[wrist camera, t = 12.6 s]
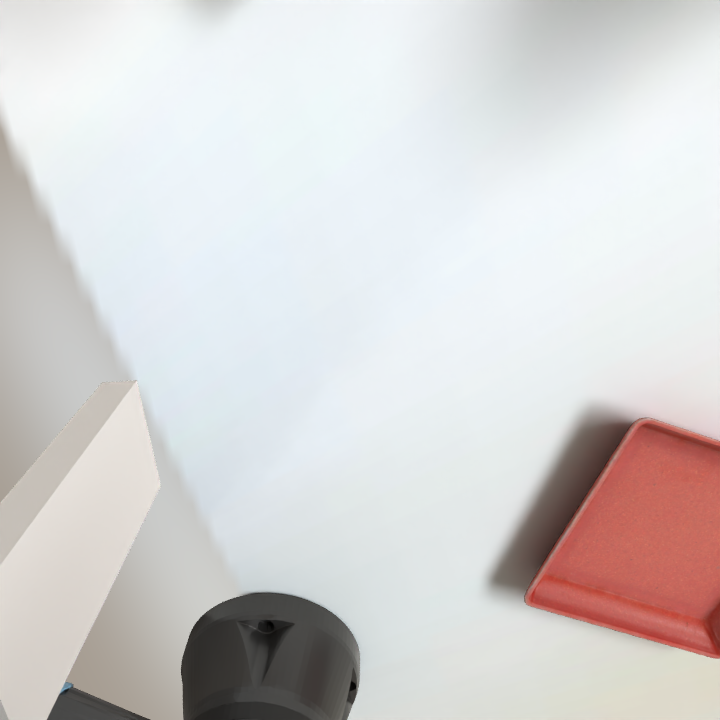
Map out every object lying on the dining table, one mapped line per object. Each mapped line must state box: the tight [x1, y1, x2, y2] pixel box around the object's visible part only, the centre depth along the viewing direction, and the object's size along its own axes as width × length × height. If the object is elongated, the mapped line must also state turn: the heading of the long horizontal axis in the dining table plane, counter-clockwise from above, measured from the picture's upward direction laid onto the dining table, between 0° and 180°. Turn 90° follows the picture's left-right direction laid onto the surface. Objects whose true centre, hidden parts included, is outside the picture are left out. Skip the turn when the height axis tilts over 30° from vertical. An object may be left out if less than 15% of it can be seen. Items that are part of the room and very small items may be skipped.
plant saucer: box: [524, 418, 720, 659], centre depth 48 cm, size 18×18×3 cm
